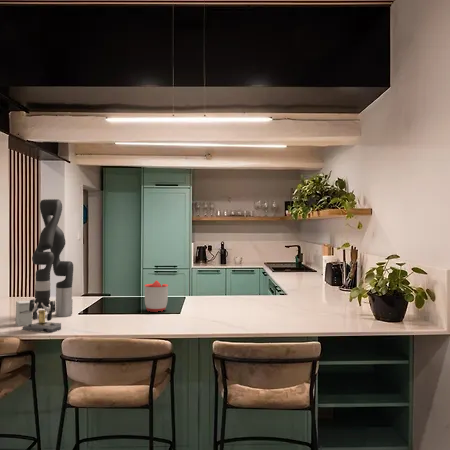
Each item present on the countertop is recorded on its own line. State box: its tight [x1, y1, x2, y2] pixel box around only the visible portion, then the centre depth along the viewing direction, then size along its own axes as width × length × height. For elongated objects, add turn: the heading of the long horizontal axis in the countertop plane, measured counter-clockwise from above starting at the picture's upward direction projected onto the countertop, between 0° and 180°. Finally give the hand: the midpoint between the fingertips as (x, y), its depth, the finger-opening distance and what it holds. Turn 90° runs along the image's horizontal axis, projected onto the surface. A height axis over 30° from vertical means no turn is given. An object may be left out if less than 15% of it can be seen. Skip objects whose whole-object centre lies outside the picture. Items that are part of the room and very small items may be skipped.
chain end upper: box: [31, 321, 62, 333], centre depth 221 cm, size 7×13×4 cm, turn 76°
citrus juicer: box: [144, 280, 169, 313], centre depth 277 cm, size 16×17×20 cm
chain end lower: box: [21, 324, 47, 332], centre depth 222 cm, size 7×13×2 cm, turn 76°
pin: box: [37, 309, 47, 325], centre depth 221 cm, size 4×4×10 cm
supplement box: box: [15, 300, 33, 327], centre depth 232 cm, size 7×7×13 cm
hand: (42, 319), depth 221 cm, fingers open, 8 cm apart
